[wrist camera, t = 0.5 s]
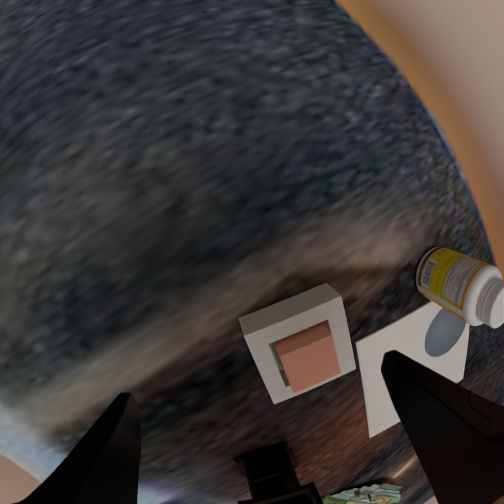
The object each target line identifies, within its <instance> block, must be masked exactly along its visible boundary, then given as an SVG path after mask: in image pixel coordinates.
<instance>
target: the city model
mask: <svg viewBox="0 0 504 504" xmlns="http://www.w3.org/2000/svg"><path fill="white" fill-rule="evenodd" d="M400 488H402V487H400V486H395V485H390V484H386V483H384V484H382V485H381V486H380V485H375V484H374V485H372V486H371V487H366V486H365V487H364V486H363V487H362V488H361V489H357V488H353V489H352V490H348V491H343V492H342V493H340V494H336V495H335V494H334V495H332V496H328V495H326V496H325V497H323V498H321V499H322V501H323V503H324V504H397V503H399V502H398V501H399V500H401V499H400V496H401V495H400V493H399V492H400V491H399V489H400Z"/></svg>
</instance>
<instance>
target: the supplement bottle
mask: <svg viewBox="0 0 504 504" xmlns="http://www.w3.org/2000/svg"><path fill="white" fill-rule="evenodd" d="M416 284H417V288H418V290H419V292H420V293H421V294H422V295H423V296H424V297H426V298H428V299H429V300H431V301H433V302H434V303H436V304H438V305H439V306H441V307H442V308H444V309H446V310H447V311H449V312H450V313H452V314H454V315H455V316H457V317H458V318H460V319H462V320H463V321H465V322H466V323H468V324H470V325H472V326H478V325H481V324H483V323H484V324H487V325H489V326H491V327H492V328H497V327H499V326H500V325H502V324H503V322H504V279H502V276H501V273H500V271H499V270H498V269H497V268H496V267H494V266H492V265H490V264H487V263H485V262H482V261H480V260H477V259H475V258H472V257H469V256H467V255H464V254H461V253H459V252H456V251H453V250H451V249H448V248H445V247H435V248H432V249H431V250H429V251H428V252H427V253H426V254H425V255H424V256H423V258H422V259H421V261H420V263H419V266H418V269H417V273H416Z"/></svg>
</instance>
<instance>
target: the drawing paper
mask: <svg viewBox="0 0 504 504" xmlns="http://www.w3.org/2000/svg"><path fill="white" fill-rule="evenodd" d="M468 335H469V324H468V323H466V322H465V321H463V320H462V319H460V318H458V317H457V316H455V315H454V314H452V313H450V312H449V311H447V310H446V309H444V308H442V307H441V306H439V305H438V304H436V303H434V302H433V301H429V302H428V303H426V304H424V305H423V306H421V307H419V308H418V309H416V310H414V311H412V312H411V313H409V314H407V315H405V316H404V317H402V318H400V319H398V320H396V321H395V322H393V323H391V324H389V325H387V326H385V327H383V328H382V329H380V330H378V331H376V332H374V333H372V334H370V335H368V336H366V337H364V338H362V339H360V340H358V341H356V342H355V344H356V350H357V355H358V361H359V367H360V373H361V380H362V386H363V393H364V400H365V407H366V414H367V422H368V431H369V437H370V438H371V437H373V436H374V435H376V434H378V433H380V432H382V431H384V430H386V429H387V428H389V427H391V426H393V425H394V424H396V423H398V422H399V421H400V419H399V417H398V415H397V413H396V411H395V408H394V406H393V404H392V401H391V398H390V396H389V393H388V390H387V387H386V385H385V382H384V379H383V377H382V374H381V365H382V361H383V356H384V354H385V352H388V351H391V350H397V351H399V352H401V353H402V354H404V355H406V356H408V357H410V358H411V359H413V360H415V361H417V362H419V363H420V364H422V365H424V366H426V367H428V368H430V369H431V370H433V371H435V372H437V373H439V374H441V375H442V376H444V377H446V378H448V379H450V380H452V381H453V382H455V383H458V382H459V381H460V380H462V379H463V374H464V368H465V361H466V354H467V345H468Z"/></svg>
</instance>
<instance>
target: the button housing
mask: <svg viewBox="0 0 504 504" xmlns="http://www.w3.org/2000/svg"><path fill="white" fill-rule="evenodd" d="M238 319H239V322H240V325H241V329H242V332H243V335H244V338H245V340H246V342H247V345H248V347H249V349H250V352H251V354H252V356H253V358H254V361H255V363H256V365H257V367H258V370H259V372H260V374H261V377H262V379H263V381H264V383H265V385H266V388H267V390H268V392H269V394H270V396H271V399H272V401H273V403H274V404H276V403H279V402H281V401H284V400H287V399H289V398H292V397H294V396H297V395H299V394H301V393H304V392H306V391H309V390H311V389H313V388H316V387H318V386H320V385H322V384H325V383H327V382H329V381H331V380H333V379H336V378H338V377H340V376H342V375H344V374H346V373H348V372H350V371H352V370H354V369H356V367H355V361H354V356H353V350H352V345H351V340H350V335H349V330H348V325H347V320H346V316H345V311H344V306H343V302H342V297H341V295H340V294H339V293H338V292H336V291H335V290H334V289H333V288H332V287H331V286H330V285H328V284H327V283H324V284H322V285H319V286H317V287H314V288H312V289H310V290H307V291H305V292H302V293H300V294H298V295H295V296H293V297H290V298H288V299H285V300H283V301H280V302H278V303H275V304H273V305H270V306H268V307H265V308H263V309H260V310H258V311H255V312H253V313H250V314H247V315H245V316H242V317H239V318H238ZM320 322H322V323H323V324H324V325H325V327H326V328H327V329H328V330H329V331H330V333H331V334H332V337H333V341H334V345H335V350H336V354H337V358H338V363H339V367H340V371H341V373H339V374H337V375H335V376H333V377H331V378H328V379H326V380H324V381H322V382H319V383H317V384H315V385H313V386H310V387H308V388H306V389H303V390H301V391H298V392H296V393H293V391H292V388H291V386H290V384H289V382H288V380H287V377H286V375H285V373H284V370H283V367H282V365H281V362H280V359H279V357H278V354H277V351H276V349H275V346H274V344H273V342H275V341H277V340H280V339H282V338H285V337H287V336H290V335H292V334H295V333H297V332H299V331H302V330H304V329H306V328H309V327H311V326H313V325H316V324H318V323H320Z"/></svg>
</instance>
